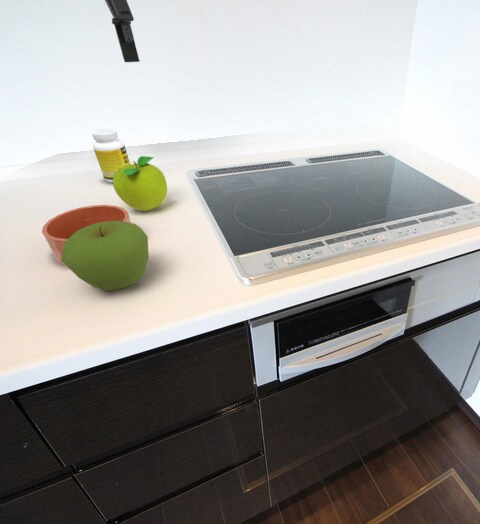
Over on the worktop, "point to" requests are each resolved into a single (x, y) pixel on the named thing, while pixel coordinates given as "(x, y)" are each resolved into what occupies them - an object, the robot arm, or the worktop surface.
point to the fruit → (140, 185)
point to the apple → (107, 254)
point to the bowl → (78, 224)
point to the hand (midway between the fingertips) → (120, 57)
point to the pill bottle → (109, 152)
